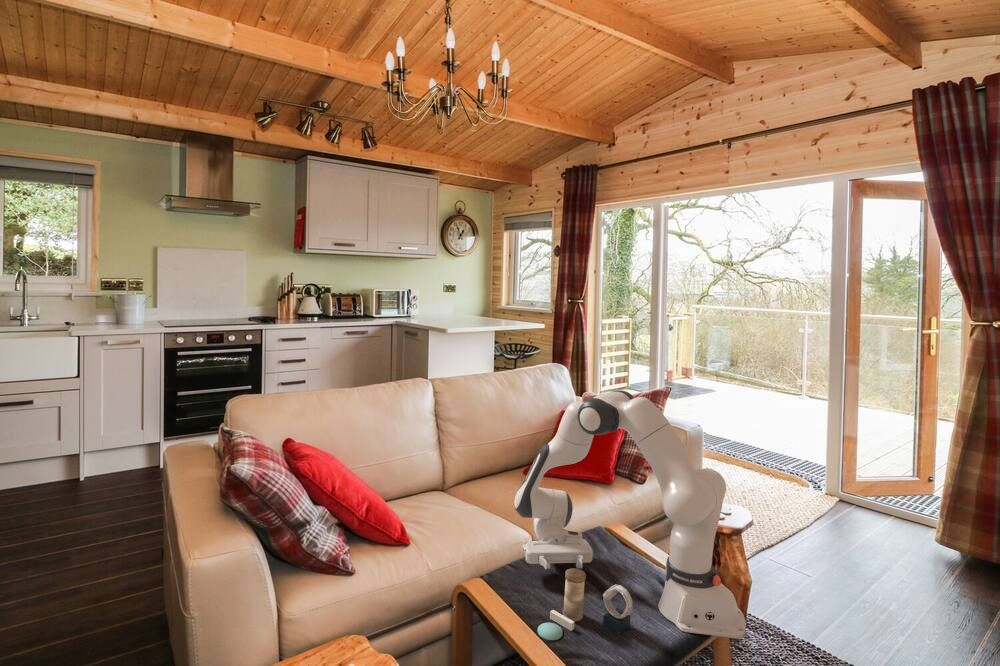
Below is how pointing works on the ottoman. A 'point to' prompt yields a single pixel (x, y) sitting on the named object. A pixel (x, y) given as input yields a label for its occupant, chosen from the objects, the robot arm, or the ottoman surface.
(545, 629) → the coaster
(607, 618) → the watch
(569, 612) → the spool
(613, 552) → the ottoman surface
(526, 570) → the ottoman surface
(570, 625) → the rail
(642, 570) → the ottoman surface
